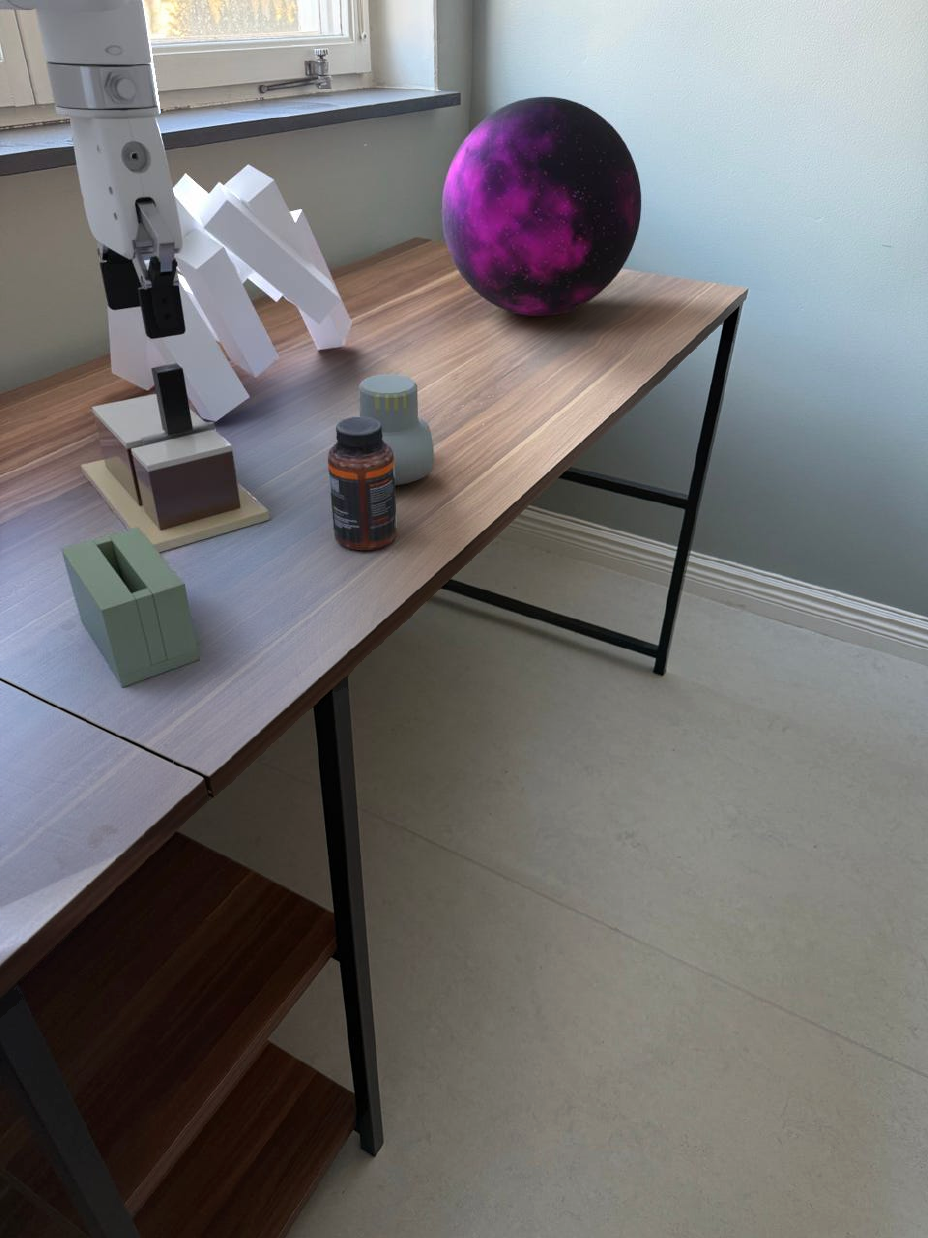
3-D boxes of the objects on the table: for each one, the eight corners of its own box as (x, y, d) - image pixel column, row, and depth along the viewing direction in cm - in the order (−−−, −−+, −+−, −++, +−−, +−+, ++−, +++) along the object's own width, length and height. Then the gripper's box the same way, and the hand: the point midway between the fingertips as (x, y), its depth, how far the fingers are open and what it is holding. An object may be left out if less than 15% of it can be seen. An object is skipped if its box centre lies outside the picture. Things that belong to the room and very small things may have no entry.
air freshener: (436, 495, 91) (437, 401, 85) (356, 500, 90) (350, 406, 84) (422, 450, 100) (421, 362, 94) (348, 454, 98) (343, 366, 92)
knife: (220, 484, 90) (200, 358, 82) (226, 490, 89) (207, 363, 81) (152, 502, 86) (125, 372, 79) (158, 508, 85) (131, 377, 78)
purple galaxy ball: (420, 331, 133) (418, 102, 116) (463, 280, 157) (467, 83, 140) (619, 350, 128) (649, 113, 111) (633, 294, 152) (659, 92, 135)
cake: (148, 555, 80) (132, 480, 76) (82, 473, 93) (65, 404, 89) (270, 519, 86) (261, 447, 82) (192, 446, 99) (180, 381, 95)
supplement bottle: (406, 528, 85) (404, 416, 79) (382, 558, 81) (377, 443, 74) (350, 517, 87) (343, 407, 80) (322, 546, 82) (312, 432, 75)
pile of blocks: (236, 358, 138) (76, 139, 114) (404, 297, 126) (266, 39, 102) (163, 516, 116) (-53, 287, 92) (357, 460, 105) (169, 182, 81)
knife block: (200, 659, 68) (185, 583, 64) (122, 688, 65) (101, 610, 61) (154, 598, 75) (138, 526, 71) (81, 622, 72) (60, 548, 68)
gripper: (196, 99, 63) (227, 340, 73) (118, 82, 74) (153, 292, 84) (89, 102, 59) (136, 355, 69) (24, 84, 71) (72, 303, 80)
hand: (146, 320), depth 77 cm, fingers open, 9 cm apart
